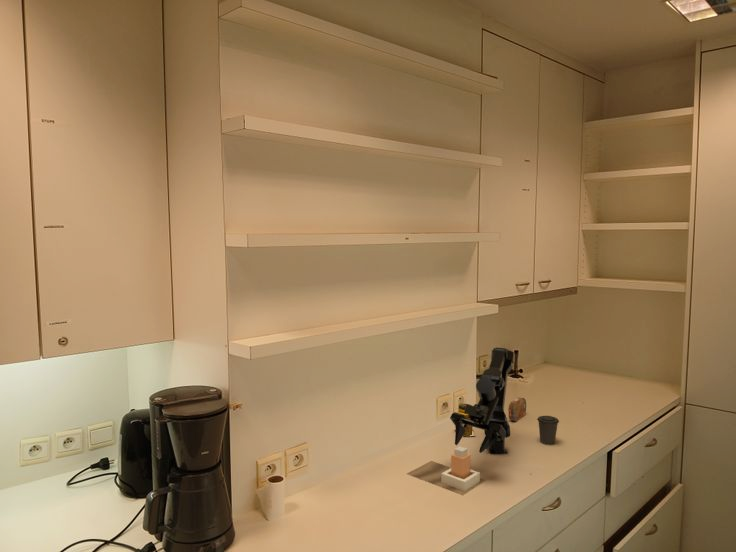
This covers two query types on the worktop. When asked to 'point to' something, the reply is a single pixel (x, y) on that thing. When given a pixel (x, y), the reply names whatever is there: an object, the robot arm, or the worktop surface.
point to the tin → (517, 409)
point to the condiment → (461, 411)
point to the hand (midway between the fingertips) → (467, 448)
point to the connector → (460, 463)
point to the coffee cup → (547, 429)
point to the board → (437, 476)
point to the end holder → (460, 480)
